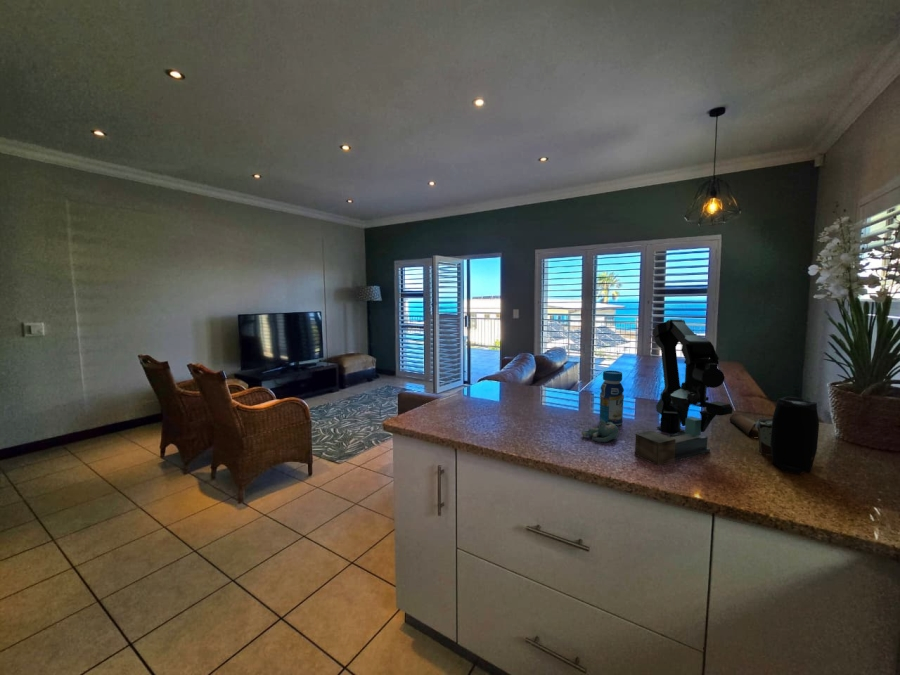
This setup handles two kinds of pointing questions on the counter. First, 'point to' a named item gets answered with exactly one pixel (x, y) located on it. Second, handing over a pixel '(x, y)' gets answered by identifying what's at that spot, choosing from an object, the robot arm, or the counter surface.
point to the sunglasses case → (745, 424)
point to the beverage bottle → (612, 397)
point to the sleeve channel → (690, 447)
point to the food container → (764, 435)
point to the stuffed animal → (603, 431)
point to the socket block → (655, 447)
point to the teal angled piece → (690, 430)
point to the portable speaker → (794, 434)
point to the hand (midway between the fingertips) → (692, 428)
